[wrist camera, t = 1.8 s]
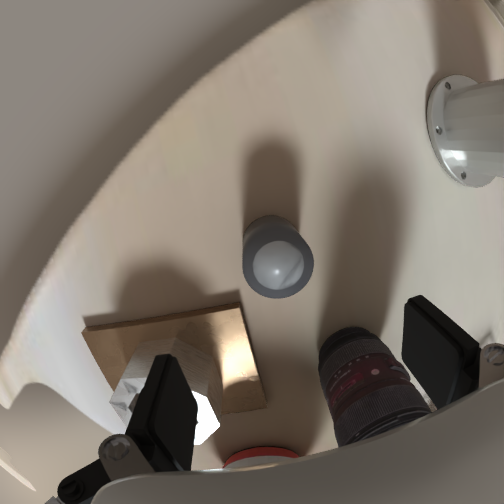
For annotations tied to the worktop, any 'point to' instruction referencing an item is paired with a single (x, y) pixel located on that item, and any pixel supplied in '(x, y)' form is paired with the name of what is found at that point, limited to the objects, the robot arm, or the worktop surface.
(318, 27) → the worktop surface
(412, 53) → the worktop surface
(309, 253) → the plug
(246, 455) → the citrus juicer
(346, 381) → the camera lens
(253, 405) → the candle holder on board
